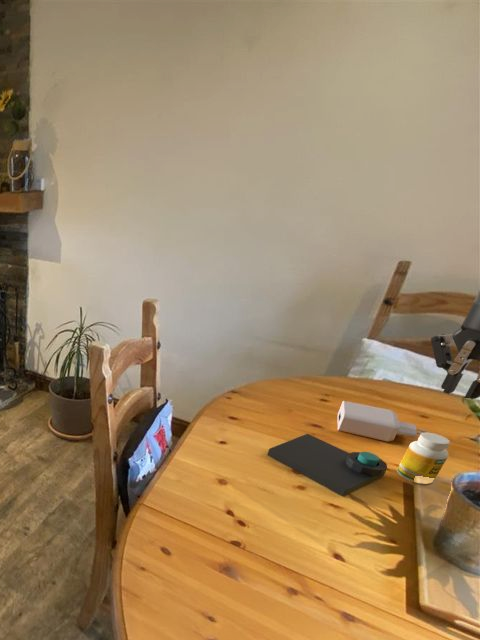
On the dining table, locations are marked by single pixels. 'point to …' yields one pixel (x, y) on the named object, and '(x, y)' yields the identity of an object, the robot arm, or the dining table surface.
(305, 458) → the scale
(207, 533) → the dining table surface
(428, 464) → the supplement bottle
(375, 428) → the charger
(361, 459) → the tare button
